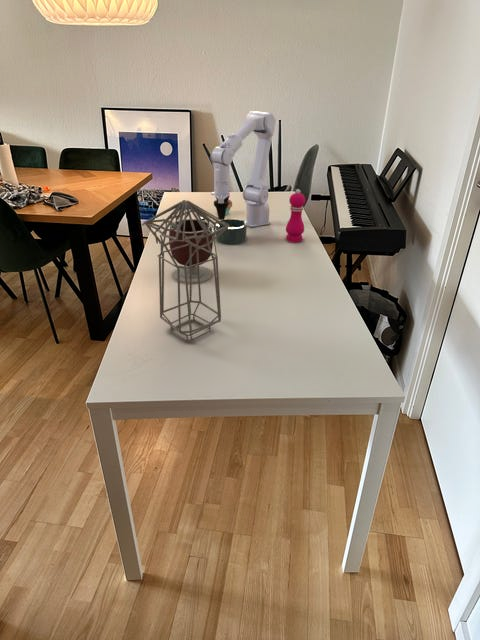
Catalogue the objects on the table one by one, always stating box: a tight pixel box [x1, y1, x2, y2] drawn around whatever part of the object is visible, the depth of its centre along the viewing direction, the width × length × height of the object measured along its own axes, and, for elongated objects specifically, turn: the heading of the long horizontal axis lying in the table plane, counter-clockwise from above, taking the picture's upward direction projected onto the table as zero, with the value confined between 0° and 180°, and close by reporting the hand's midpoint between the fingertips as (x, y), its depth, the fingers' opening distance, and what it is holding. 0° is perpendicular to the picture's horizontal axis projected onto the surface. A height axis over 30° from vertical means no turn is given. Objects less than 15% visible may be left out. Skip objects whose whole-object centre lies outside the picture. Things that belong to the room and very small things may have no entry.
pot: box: [215, 218, 248, 246], centre depth 176 cm, size 12×12×6 cm
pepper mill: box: [285, 188, 306, 243], centre depth 173 cm, size 7×7×20 cm
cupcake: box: [213, 199, 233, 216], centre depth 202 cm, size 9×8×12 cm
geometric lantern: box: [141, 199, 229, 343], centre depth 110 cm, size 16×16×35 cm
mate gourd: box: [167, 218, 214, 284], centre depth 143 cm, size 16×14×20 cm
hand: (222, 216), depth 176 cm, fingers open, 7 cm apart
